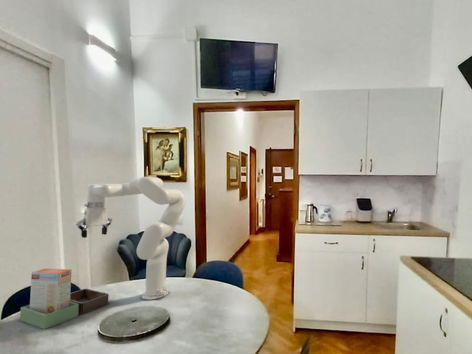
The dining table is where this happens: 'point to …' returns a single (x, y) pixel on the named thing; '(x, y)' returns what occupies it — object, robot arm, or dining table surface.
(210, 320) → the dining table surface
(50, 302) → the cracker box
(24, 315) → the bin
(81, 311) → the crate
